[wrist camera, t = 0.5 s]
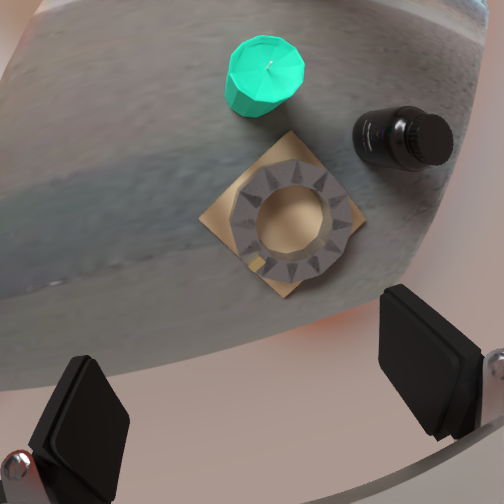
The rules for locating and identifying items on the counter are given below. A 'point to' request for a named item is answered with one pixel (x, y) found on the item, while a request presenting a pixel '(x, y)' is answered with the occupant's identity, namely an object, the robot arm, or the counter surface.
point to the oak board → (277, 209)
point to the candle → (262, 75)
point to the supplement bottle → (403, 138)
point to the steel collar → (316, 252)
